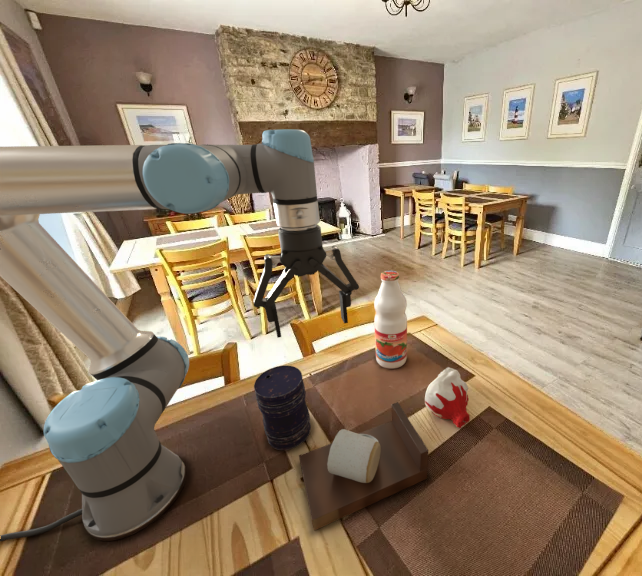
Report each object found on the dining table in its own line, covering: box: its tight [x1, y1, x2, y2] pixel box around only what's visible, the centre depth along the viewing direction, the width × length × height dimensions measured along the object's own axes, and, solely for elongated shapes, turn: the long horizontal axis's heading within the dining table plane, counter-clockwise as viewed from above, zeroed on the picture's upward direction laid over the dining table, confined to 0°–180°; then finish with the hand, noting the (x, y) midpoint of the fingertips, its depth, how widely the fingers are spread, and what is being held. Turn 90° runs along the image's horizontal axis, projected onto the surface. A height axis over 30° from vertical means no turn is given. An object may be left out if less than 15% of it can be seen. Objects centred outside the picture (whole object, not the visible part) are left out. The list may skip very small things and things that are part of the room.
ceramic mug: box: [328, 428, 381, 483], centre depth 59 cm, size 11×8×8 cm
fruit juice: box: [373, 270, 408, 369], centre depth 88 cm, size 9×9×28 cm
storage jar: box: [253, 364, 312, 451], centre depth 68 cm, size 10×10×15 cm
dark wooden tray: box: [298, 402, 429, 531], centre depth 60 cm, size 22×13×8 cm, turn 113°
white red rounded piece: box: [424, 366, 471, 429], centre depth 73 cm, size 9×11×15 cm
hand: (312, 327), depth 65 cm, fingers open, 13 cm apart
